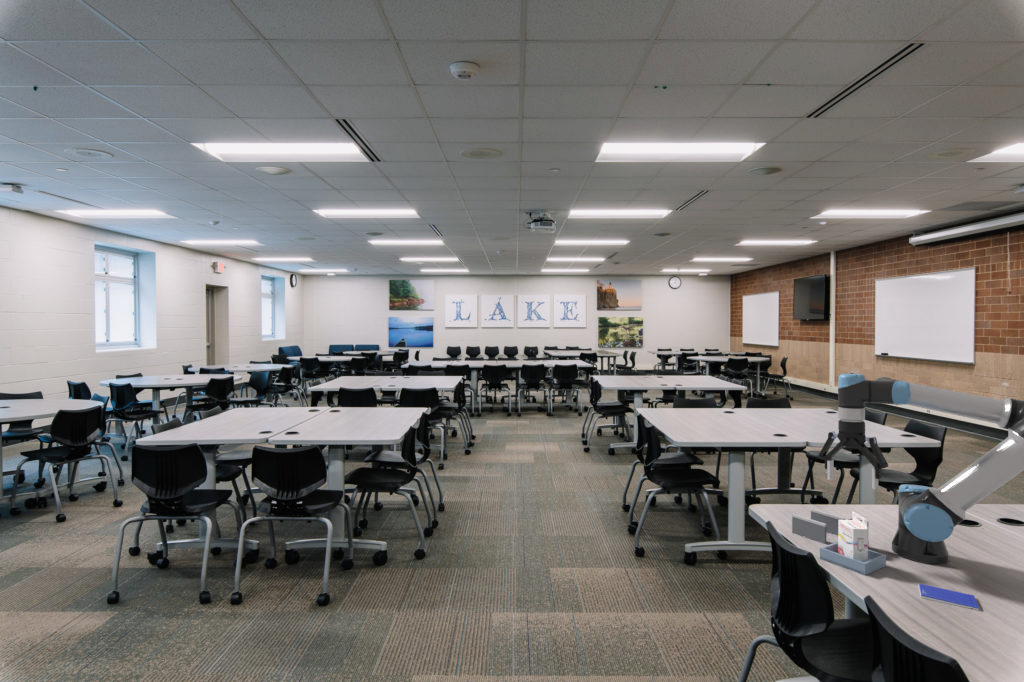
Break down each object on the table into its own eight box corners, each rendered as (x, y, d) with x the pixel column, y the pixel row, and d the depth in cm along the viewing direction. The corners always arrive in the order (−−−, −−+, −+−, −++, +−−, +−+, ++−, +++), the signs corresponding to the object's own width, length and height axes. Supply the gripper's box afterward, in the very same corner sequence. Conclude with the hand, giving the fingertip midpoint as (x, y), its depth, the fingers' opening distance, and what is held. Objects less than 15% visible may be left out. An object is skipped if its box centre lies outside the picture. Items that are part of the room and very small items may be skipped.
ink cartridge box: (836, 554, 176) (837, 510, 175) (851, 554, 176) (852, 510, 175) (852, 565, 167) (853, 519, 167) (868, 565, 167) (869, 519, 167)
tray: (886, 566, 169) (886, 555, 169) (864, 575, 162) (865, 563, 162) (841, 550, 181) (841, 540, 181) (819, 558, 174) (819, 548, 174)
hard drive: (920, 594, 149) (979, 607, 142) (918, 582, 155) (973, 594, 149) (920, 599, 149) (979, 612, 142) (918, 587, 155) (973, 600, 149)
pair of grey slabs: (845, 536, 193) (845, 518, 193) (824, 543, 186) (824, 524, 186) (812, 526, 203) (812, 508, 203) (791, 532, 197) (792, 514, 197)
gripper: (900, 423, 168) (900, 490, 168) (818, 414, 188) (818, 474, 188) (889, 426, 163) (890, 494, 164) (807, 416, 184) (808, 477, 184)
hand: (852, 483), depth 176 cm, fingers open, 13 cm apart
